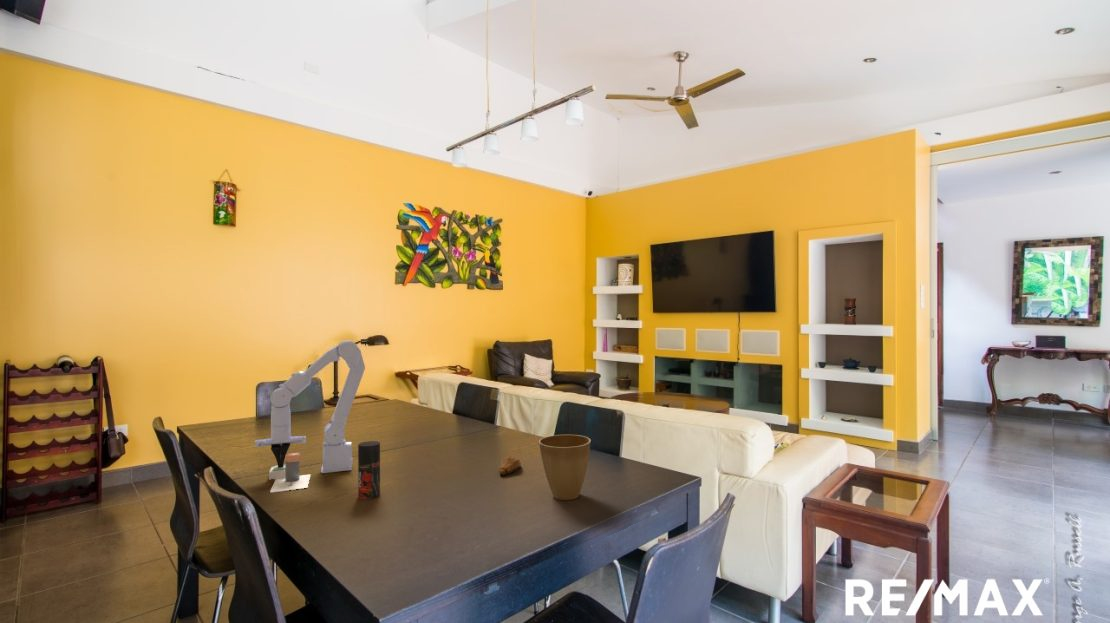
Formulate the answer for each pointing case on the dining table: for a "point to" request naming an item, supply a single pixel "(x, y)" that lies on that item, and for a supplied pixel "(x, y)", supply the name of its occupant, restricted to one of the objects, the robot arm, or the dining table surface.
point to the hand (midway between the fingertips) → (280, 466)
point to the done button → (278, 468)
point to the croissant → (509, 465)
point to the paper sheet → (290, 484)
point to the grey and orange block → (292, 467)
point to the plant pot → (565, 463)
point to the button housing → (276, 474)
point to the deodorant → (368, 469)
